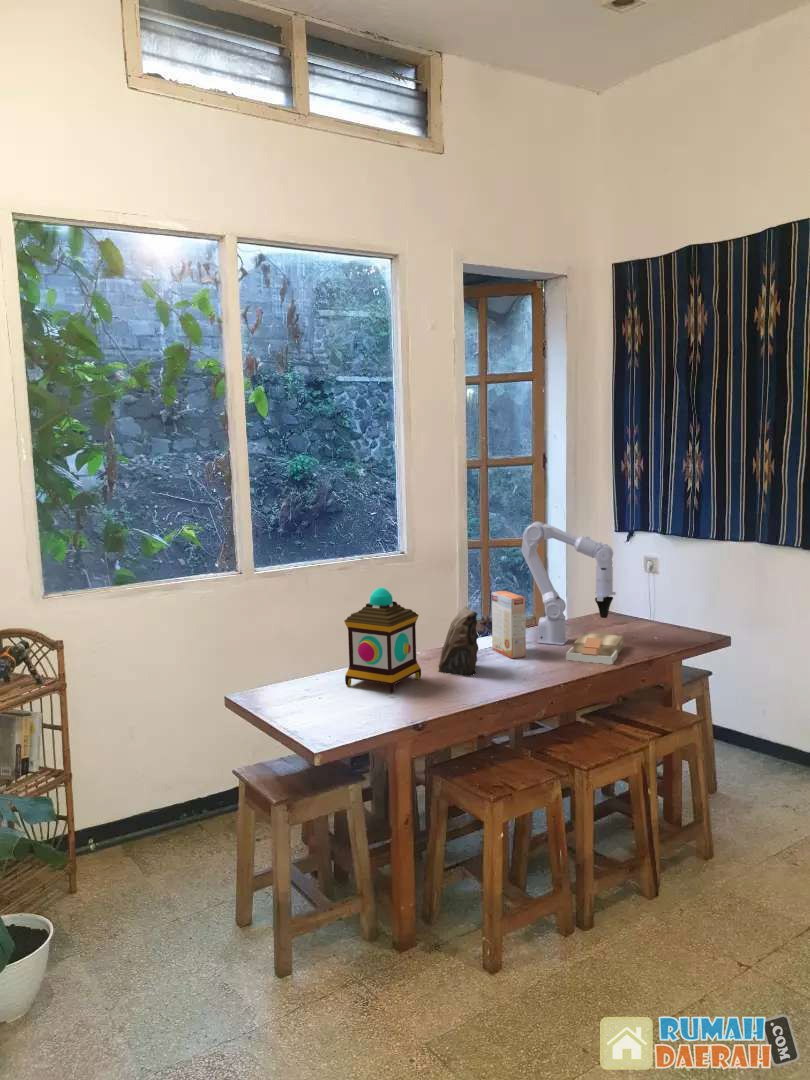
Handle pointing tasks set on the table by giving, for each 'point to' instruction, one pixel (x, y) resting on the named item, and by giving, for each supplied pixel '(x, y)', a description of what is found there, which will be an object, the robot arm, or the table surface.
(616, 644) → the beige square tray
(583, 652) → the tile front
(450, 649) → the brown rock
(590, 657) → the tray
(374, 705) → the table surface
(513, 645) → the cracker box
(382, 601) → the decorative lantern
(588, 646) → the tile rear
